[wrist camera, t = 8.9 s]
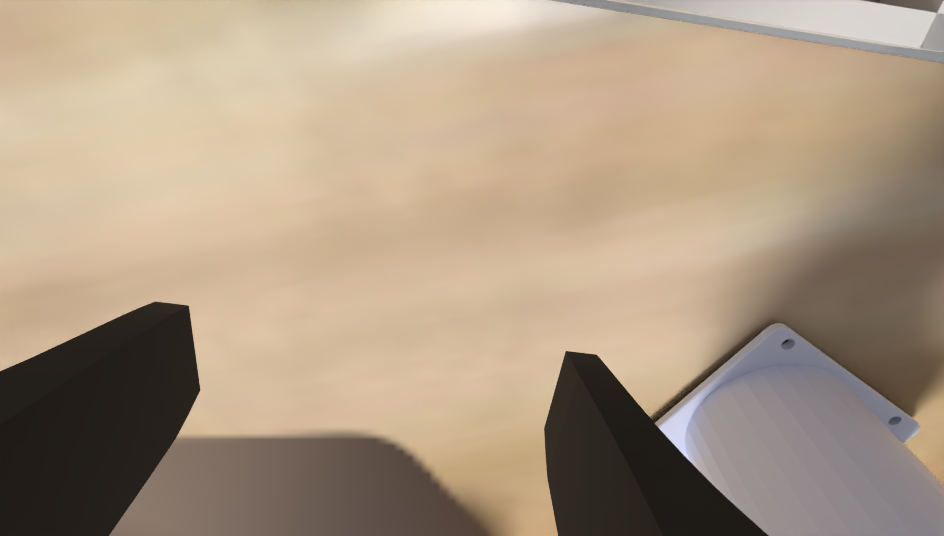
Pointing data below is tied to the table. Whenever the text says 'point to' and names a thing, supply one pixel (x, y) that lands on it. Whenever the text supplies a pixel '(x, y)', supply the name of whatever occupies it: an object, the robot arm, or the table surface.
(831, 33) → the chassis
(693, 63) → the table surface
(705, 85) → the table surface
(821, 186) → the table surface
